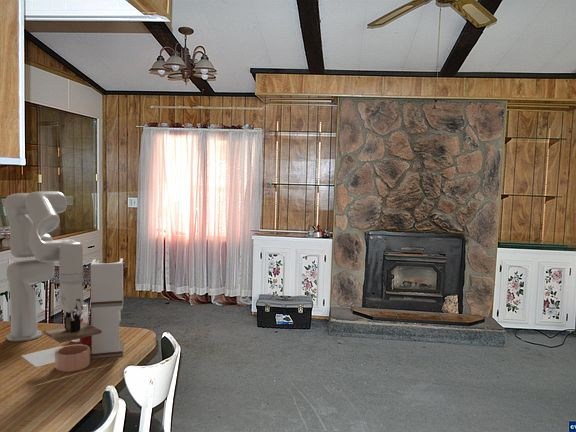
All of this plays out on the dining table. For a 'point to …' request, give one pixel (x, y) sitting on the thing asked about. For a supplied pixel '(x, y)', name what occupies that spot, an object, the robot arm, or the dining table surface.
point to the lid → (66, 335)
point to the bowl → (72, 357)
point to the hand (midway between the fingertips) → (72, 329)
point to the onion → (86, 341)
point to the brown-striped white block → (106, 308)
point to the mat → (42, 357)
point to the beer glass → (83, 318)
